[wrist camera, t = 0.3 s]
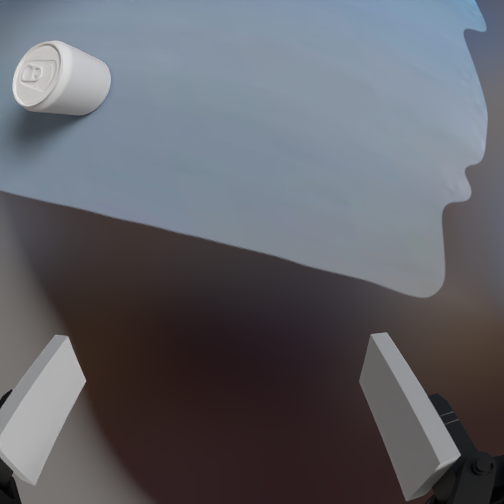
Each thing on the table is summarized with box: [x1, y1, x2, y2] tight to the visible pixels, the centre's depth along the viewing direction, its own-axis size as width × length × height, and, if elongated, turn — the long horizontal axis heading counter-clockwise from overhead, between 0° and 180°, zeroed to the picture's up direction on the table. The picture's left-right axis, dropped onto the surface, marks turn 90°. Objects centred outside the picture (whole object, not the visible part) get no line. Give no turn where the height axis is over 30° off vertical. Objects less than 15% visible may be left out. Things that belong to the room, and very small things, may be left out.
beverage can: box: [12, 41, 111, 115], centre depth 25 cm, size 8×8×12 cm
